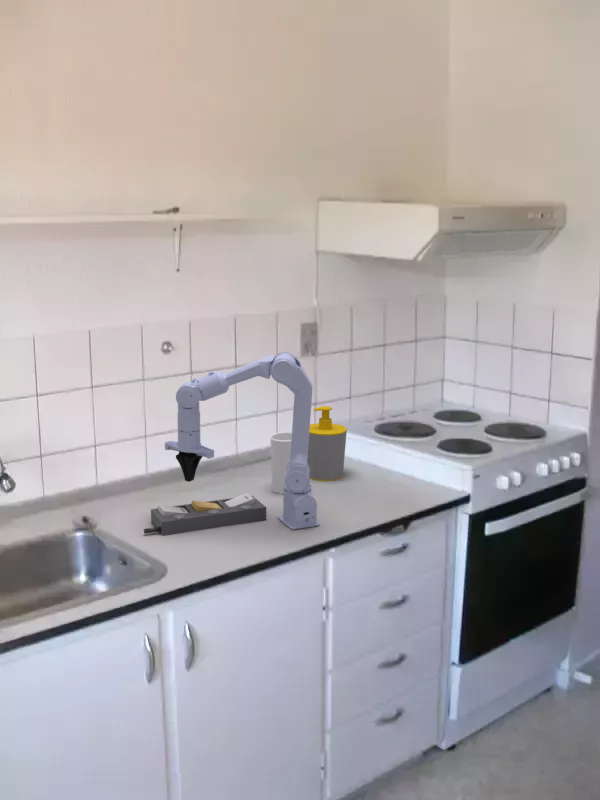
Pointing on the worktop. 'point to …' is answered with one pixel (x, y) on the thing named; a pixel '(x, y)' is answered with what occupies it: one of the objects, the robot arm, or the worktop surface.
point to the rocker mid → (204, 506)
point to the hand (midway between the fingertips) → (189, 480)
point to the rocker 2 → (240, 500)
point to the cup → (280, 459)
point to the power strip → (206, 517)
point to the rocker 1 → (171, 510)
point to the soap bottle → (326, 448)
